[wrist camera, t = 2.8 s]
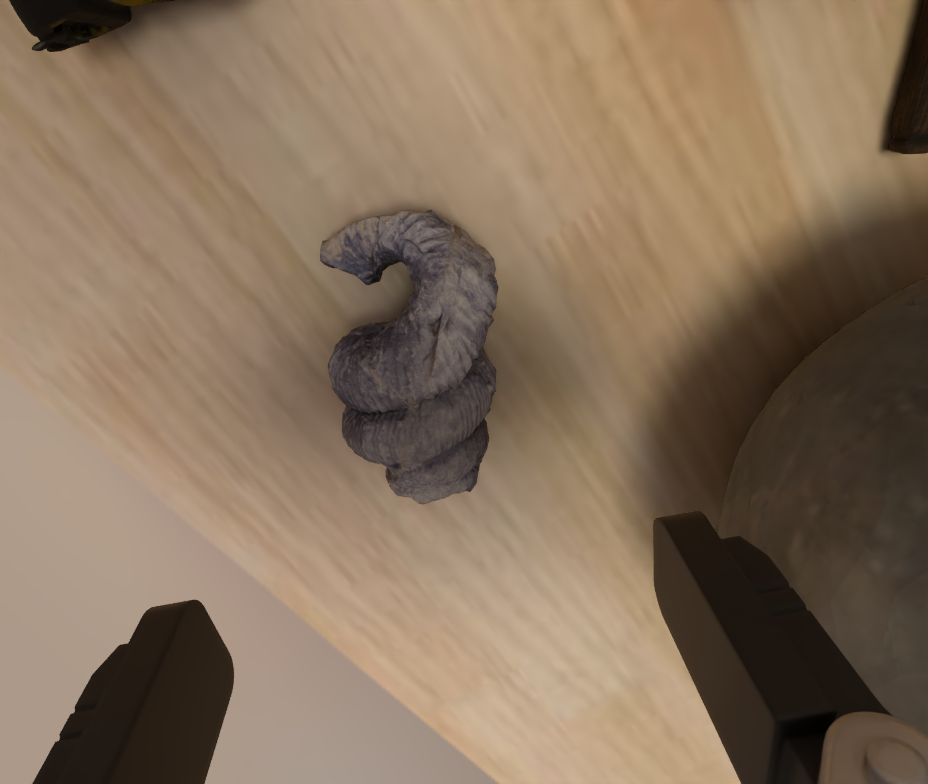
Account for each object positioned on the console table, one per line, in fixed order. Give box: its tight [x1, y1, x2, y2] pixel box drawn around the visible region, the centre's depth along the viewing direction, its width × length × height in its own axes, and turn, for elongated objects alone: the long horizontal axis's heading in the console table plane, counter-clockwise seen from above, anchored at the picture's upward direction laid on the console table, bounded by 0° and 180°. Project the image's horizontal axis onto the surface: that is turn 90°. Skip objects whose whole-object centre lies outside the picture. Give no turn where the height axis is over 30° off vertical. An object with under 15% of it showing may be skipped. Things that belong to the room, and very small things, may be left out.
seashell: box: [320, 210, 498, 504], centre depth 18 cm, size 5×5×10 cm
